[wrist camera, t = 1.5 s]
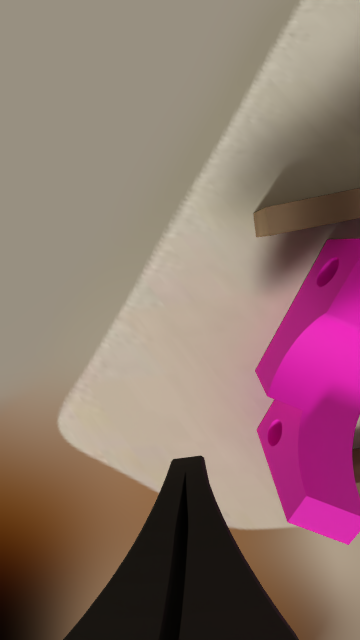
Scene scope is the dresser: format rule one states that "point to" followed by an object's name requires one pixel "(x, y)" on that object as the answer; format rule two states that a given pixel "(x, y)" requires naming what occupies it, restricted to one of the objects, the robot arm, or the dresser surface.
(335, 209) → the pair of brown pieces
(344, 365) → the toy block
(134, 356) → the dresser surface
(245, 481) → the dresser surface
